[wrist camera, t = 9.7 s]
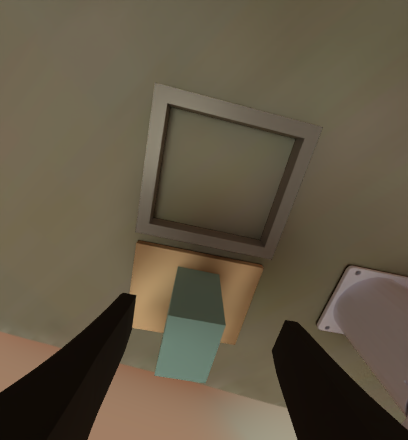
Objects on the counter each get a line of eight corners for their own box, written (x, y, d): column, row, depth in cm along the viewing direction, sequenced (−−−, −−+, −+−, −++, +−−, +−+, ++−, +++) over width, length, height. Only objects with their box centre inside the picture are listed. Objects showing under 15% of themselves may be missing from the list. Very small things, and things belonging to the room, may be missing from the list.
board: (261, 264, 20) (263, 268, 20) (234, 340, 24) (234, 344, 23) (138, 240, 19) (136, 243, 19) (127, 322, 23) (125, 326, 22)
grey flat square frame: (312, 128, 16) (323, 127, 15) (266, 251, 20) (271, 259, 19) (159, 88, 15) (154, 82, 14) (140, 225, 19) (135, 231, 18)
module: (219, 274, 20) (225, 325, 14) (204, 322, 22) (205, 383, 16) (177, 266, 20) (168, 315, 14) (166, 315, 22) (154, 375, 16)
